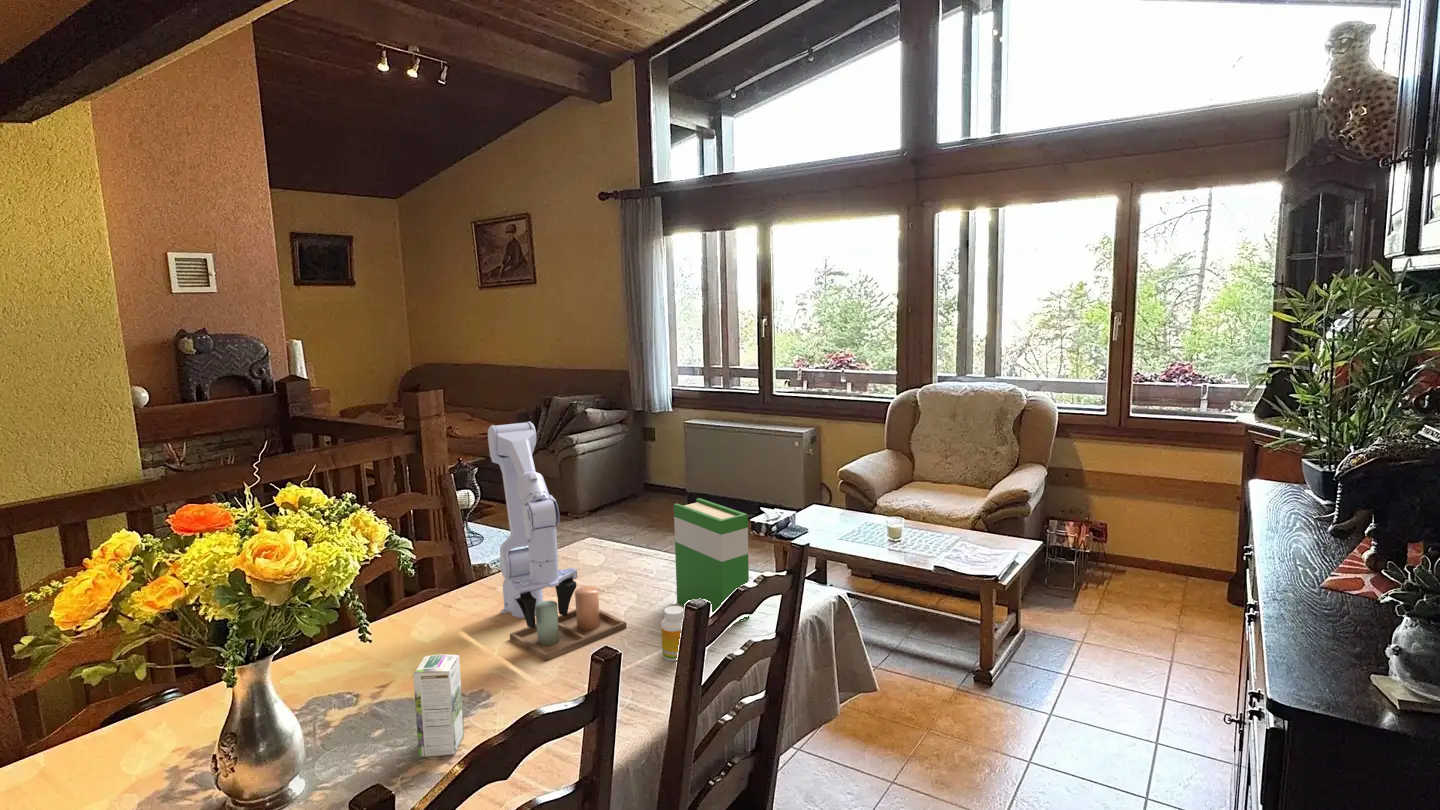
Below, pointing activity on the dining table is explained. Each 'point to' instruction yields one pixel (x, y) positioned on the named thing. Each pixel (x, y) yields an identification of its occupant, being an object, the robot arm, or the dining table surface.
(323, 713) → the dining table surface
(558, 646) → the walnut tray
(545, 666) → the dining table surface
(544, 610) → the sage tube
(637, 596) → the dining table surface
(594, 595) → the peach cylinder pillar
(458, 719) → the syrup box
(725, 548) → the hardback book
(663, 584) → the dining table surface
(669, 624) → the supplement bottle
